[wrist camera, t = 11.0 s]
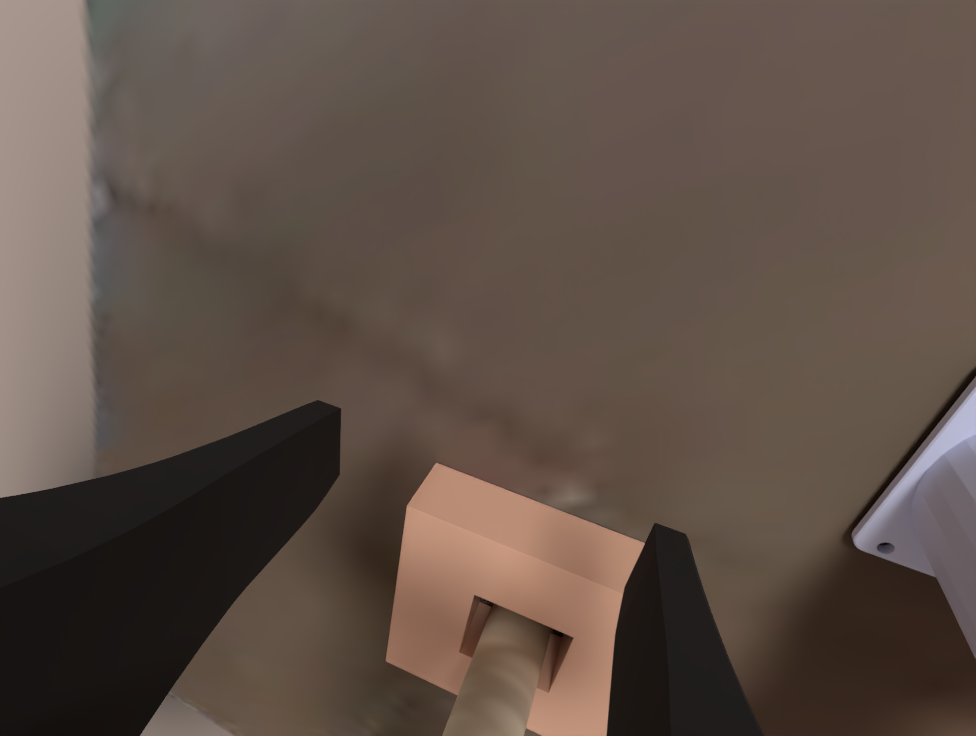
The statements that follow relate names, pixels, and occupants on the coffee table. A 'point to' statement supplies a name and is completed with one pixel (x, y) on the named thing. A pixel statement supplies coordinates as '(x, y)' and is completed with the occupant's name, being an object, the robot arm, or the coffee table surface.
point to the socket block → (510, 593)
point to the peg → (500, 677)
